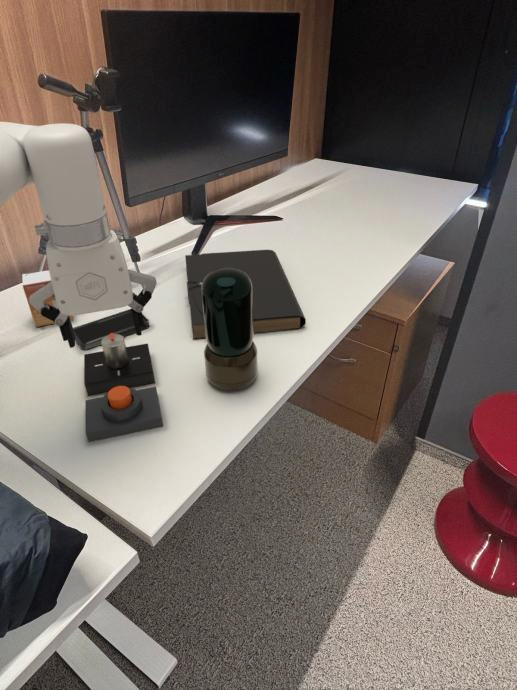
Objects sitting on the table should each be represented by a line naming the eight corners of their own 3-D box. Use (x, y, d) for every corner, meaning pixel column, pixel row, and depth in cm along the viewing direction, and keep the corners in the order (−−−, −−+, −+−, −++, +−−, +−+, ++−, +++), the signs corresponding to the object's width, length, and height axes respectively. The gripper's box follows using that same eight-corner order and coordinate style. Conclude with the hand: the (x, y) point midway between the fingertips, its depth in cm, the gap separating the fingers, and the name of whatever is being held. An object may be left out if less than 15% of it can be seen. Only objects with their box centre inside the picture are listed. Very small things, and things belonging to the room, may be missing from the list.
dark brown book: (184, 254, 124) (276, 248, 127) (185, 268, 126) (275, 262, 129) (190, 323, 97) (306, 313, 101) (192, 340, 100) (305, 329, 103)
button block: (88, 442, 77) (82, 424, 75) (88, 409, 83) (82, 392, 81) (163, 426, 80) (160, 408, 78) (157, 395, 86) (154, 378, 84)
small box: (35, 328, 104) (21, 285, 98) (35, 315, 108) (21, 273, 102) (74, 320, 107) (62, 278, 100) (72, 308, 111) (60, 266, 105)
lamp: (200, 391, 87) (188, 283, 74) (213, 359, 94) (204, 256, 82) (252, 396, 86) (249, 288, 73) (261, 364, 93) (260, 260, 80)
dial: (129, 366, 88) (124, 343, 85) (107, 370, 87) (101, 347, 84) (127, 354, 91) (122, 330, 88) (106, 358, 90) (100, 334, 87)
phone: (150, 322, 103) (81, 346, 96) (151, 326, 104) (82, 350, 97) (135, 306, 109) (69, 328, 102) (136, 311, 109) (70, 332, 102)
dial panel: (88, 396, 86) (84, 383, 84) (87, 366, 93) (83, 353, 91) (155, 383, 89) (152, 370, 87) (150, 355, 96) (147, 342, 94)
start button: (110, 411, 78) (107, 402, 77) (109, 397, 81) (107, 388, 79) (133, 407, 79) (131, 397, 77) (131, 393, 81) (129, 383, 80)
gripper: (4, 249, 58) (44, 362, 68) (150, 231, 62) (166, 339, 72) (11, 226, 63) (46, 333, 73) (143, 211, 67) (159, 314, 78)
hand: (106, 336), depth 73 cm, fingers open, 9 cm apart
